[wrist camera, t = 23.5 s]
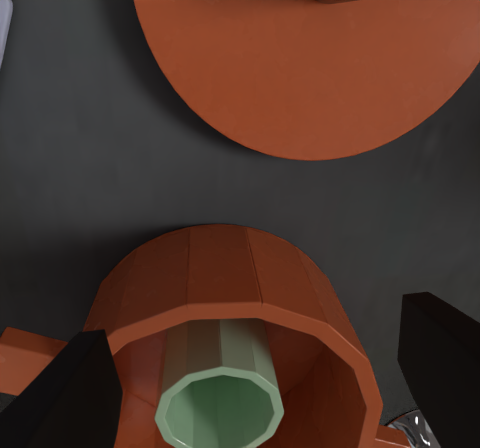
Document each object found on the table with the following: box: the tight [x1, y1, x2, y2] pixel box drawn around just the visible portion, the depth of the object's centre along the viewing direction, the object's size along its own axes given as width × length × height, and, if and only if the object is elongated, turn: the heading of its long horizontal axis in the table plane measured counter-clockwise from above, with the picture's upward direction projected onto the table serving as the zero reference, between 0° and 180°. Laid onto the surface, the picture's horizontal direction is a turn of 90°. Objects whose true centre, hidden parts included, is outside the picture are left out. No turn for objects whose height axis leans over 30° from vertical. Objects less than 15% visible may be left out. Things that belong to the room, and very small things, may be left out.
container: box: [154, 318, 284, 448], centre depth 20 cm, size 6×6×5 cm
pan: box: [0, 224, 412, 448], centre depth 20 cm, size 13×19×6 cm
